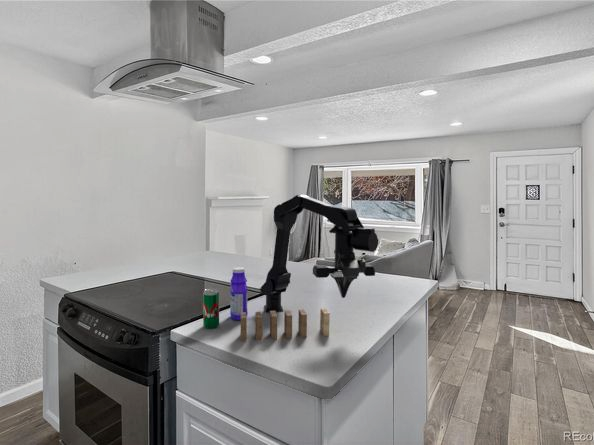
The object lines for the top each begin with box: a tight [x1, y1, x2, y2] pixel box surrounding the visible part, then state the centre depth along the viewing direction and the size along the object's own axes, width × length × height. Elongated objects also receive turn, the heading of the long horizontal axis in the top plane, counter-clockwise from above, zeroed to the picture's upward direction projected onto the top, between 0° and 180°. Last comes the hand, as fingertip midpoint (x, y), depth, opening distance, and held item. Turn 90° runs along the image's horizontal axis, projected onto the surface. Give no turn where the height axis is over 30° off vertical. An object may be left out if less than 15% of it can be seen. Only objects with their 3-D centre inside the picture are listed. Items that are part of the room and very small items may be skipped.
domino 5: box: [297, 308, 308, 338], centre depth 109 cm, size 5×2×7 cm, turn 11°
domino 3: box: [269, 311, 278, 340], centre depth 107 cm, size 5×2×7 cm, turn 11°
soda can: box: [202, 288, 220, 330], centre depth 114 cm, size 5×5×12 cm
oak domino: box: [319, 307, 330, 337], centre depth 110 cm, size 5×2×7 cm, turn 10°
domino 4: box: [283, 309, 293, 339], centre depth 108 cm, size 5×2×7 cm, turn 11°
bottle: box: [229, 266, 248, 321], centre depth 122 cm, size 7×6×17 cm
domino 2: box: [254, 310, 263, 341], centre depth 106 cm, size 5×2×7 cm, turn 11°
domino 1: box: [240, 312, 248, 342], centre depth 105 cm, size 5×2×7 cm, turn 11°
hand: (343, 297), depth 111 cm, fingers closed
